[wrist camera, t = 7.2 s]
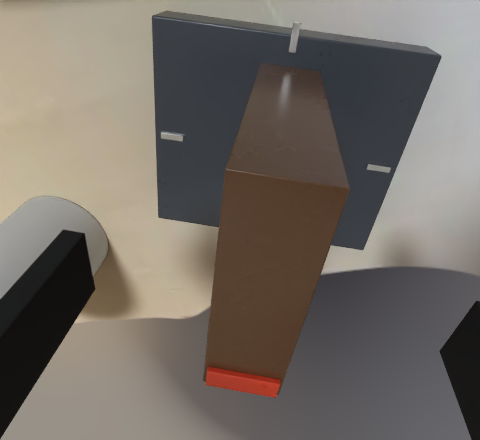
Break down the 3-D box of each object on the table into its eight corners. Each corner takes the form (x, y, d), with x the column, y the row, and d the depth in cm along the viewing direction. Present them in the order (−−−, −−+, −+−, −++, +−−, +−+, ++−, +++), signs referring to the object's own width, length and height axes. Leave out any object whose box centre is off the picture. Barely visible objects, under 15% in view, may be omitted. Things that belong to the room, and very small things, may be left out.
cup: (-2, 204, 31) (-140, 315, 21) (79, 188, 29) (-31, 303, 19) (49, 273, 35) (-45, 392, 25) (123, 264, 33) (51, 389, 23)
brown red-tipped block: (261, 62, 19) (223, 172, 9) (320, 71, 19) (352, 193, 9) (239, 213, 25) (201, 387, 15) (284, 221, 25) (278, 401, 15)
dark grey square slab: (432, 35, 20) (449, 43, 18) (356, 236, 28) (361, 258, 26) (165, -2, 20) (149, 1, 18) (167, 206, 29) (157, 225, 26)
